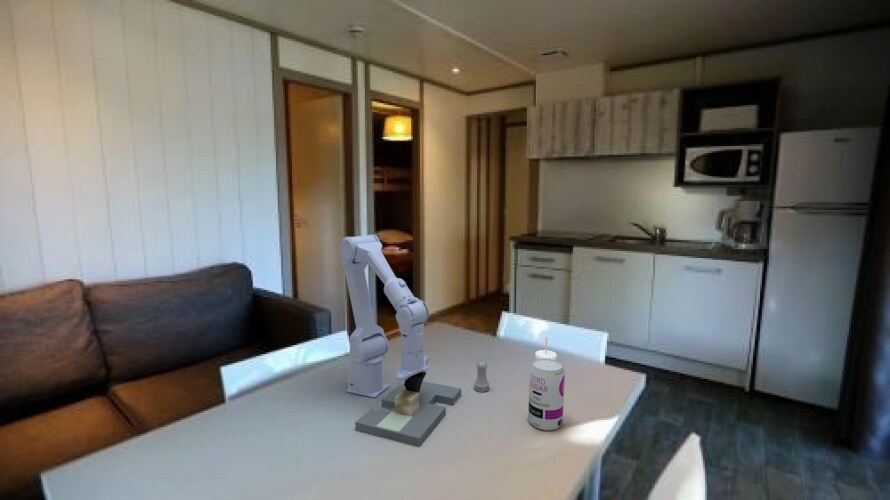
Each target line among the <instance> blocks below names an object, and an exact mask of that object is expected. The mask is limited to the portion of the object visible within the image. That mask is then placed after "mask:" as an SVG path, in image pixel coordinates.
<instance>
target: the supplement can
mask: <svg viewBox="0 0 890 500" xmlns="http://www.w3.org/2000/svg"><path fill="white" fill-rule="evenodd" d="M565 373H566V372H565V369H564V367H563V364H562V363H561V362H559V361H557V360H556V359H555V360H550V359H539V360H534V361H533V362H532V365H531V366H530V368H529V379H528V381H529V382H528V383H529V384H528V413H527V414H528V415H527V419H528V421H529V423H530V424H531V425H532V426H533V427H535V428H536V429H538V430H543V431H549V432H550V431H555V430H557V429H559V428H560V427H561V426H562V425H563V423H564V422H563V420H564V399H565V398H564V397H565V396H564V395H565V377H566V376H565Z"/></svg>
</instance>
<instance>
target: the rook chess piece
mask: <svg viewBox="0 0 890 500" xmlns="http://www.w3.org/2000/svg"><path fill="white" fill-rule="evenodd" d="M475 366H476V368H477V369H476V371H477V375H476V379H475V381H474V386H473V389H474V390H475V391H476V392H479V393H485V392H488V391H489V389H490V383H489V380H488V377H487V368H488V364H487V361H486V360H478V361H477V363H476V364H475Z"/></svg>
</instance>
